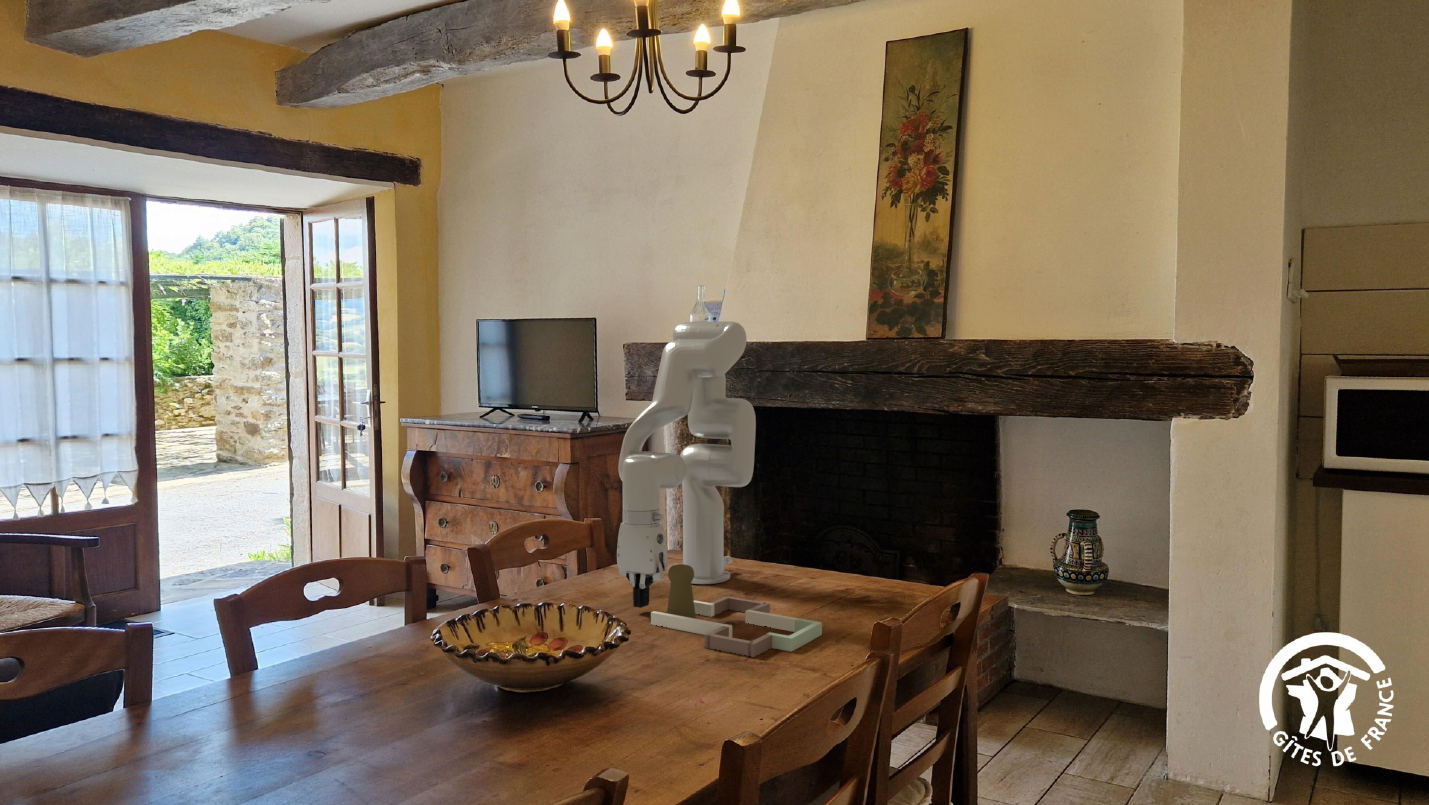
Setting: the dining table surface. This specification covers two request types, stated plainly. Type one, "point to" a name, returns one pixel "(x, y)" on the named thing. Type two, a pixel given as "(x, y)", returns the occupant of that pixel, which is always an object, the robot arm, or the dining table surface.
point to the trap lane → (754, 614)
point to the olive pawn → (681, 591)
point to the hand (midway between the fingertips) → (641, 605)
